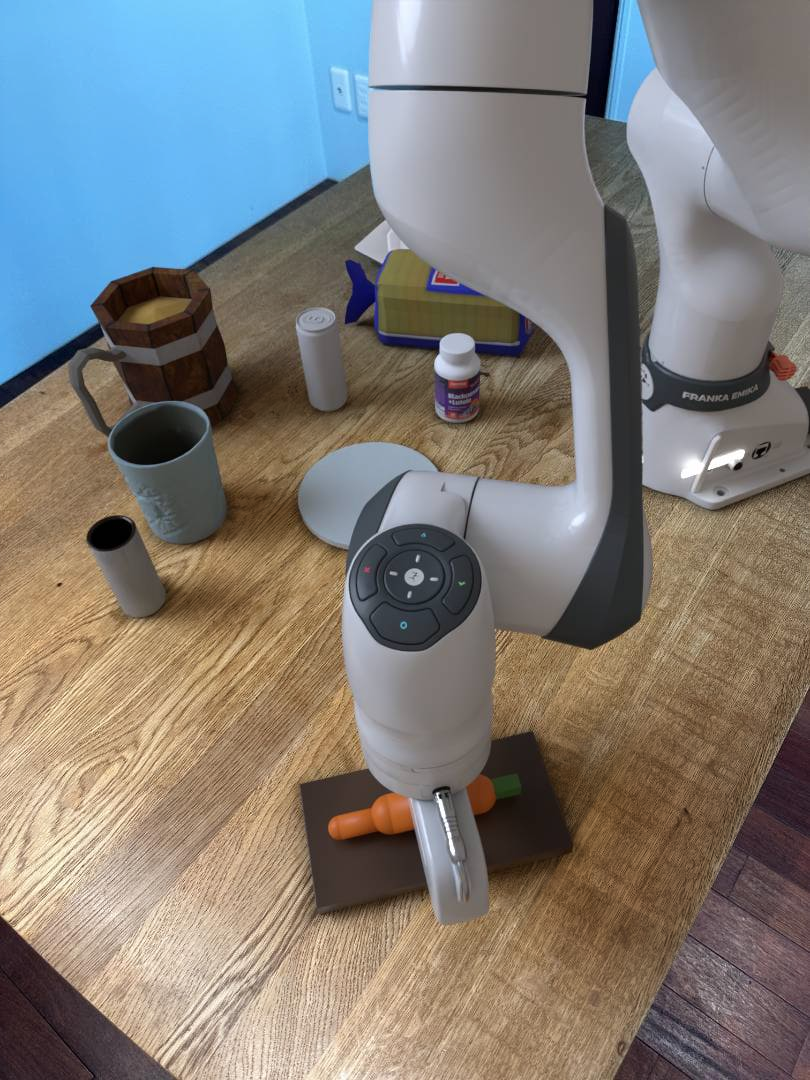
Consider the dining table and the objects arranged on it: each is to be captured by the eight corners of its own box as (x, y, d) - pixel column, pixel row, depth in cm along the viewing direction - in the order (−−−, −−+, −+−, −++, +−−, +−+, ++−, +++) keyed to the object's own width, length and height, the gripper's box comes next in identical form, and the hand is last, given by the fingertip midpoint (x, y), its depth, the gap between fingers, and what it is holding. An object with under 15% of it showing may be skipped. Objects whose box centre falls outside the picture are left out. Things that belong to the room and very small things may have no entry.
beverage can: (342, 415, 99) (330, 332, 90) (305, 412, 100) (289, 329, 91) (352, 391, 102) (341, 308, 93) (315, 387, 103) (301, 305, 94)
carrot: (512, 776, 66) (513, 757, 64) (524, 810, 64) (525, 792, 62) (327, 819, 65) (322, 801, 62) (333, 855, 62) (327, 838, 60)
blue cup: (145, 558, 86) (108, 476, 77) (140, 493, 92) (105, 411, 83) (240, 535, 87) (215, 453, 78) (228, 473, 94) (204, 390, 85)
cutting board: (531, 739, 70) (532, 730, 69) (572, 852, 63) (574, 845, 62) (301, 791, 68) (299, 783, 67) (318, 914, 61) (316, 908, 60)
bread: (527, 365, 104) (532, 294, 96) (341, 347, 109) (332, 278, 101) (536, 320, 110) (542, 250, 103) (361, 305, 115) (354, 236, 107)
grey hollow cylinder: (144, 625, 80) (110, 558, 72) (111, 606, 82) (75, 539, 74) (175, 593, 82) (146, 525, 75) (143, 576, 84) (111, 508, 76)
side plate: (425, 438, 96) (424, 430, 95) (459, 536, 85) (459, 529, 84) (291, 463, 94) (289, 456, 93) (309, 566, 84) (308, 559, 83)
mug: (185, 357, 109) (153, 254, 98) (260, 390, 104) (235, 285, 92) (70, 441, 99) (19, 337, 88) (146, 482, 93) (102, 377, 82)
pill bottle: (449, 430, 97) (447, 362, 89) (427, 405, 100) (424, 338, 93) (488, 414, 98) (490, 347, 91) (465, 390, 101) (465, 323, 94)
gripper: (518, 871, 47) (508, 939, 57) (435, 598, 60) (439, 694, 71) (413, 897, 46) (422, 961, 57) (352, 615, 60) (368, 709, 70)
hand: (431, 811), depth 64 cm, fingers open, 5 cm apart
